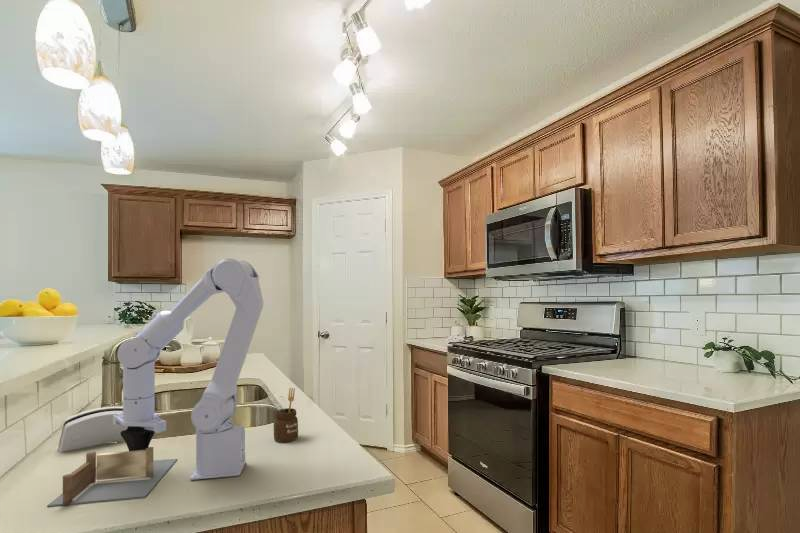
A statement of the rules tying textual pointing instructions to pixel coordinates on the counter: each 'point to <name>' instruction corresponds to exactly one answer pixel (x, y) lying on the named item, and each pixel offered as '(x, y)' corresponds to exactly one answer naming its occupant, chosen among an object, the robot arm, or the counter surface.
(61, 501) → the mat
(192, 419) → the robot arm
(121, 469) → the fence panel
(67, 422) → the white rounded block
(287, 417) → the utensil holder
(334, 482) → the counter surface
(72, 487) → the fence post and rail
